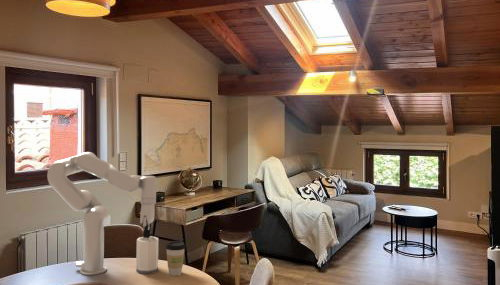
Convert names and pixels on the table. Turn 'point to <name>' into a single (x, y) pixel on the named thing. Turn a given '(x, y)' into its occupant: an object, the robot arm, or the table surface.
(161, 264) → the table surface
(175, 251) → the coffee cup
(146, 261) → the coffee press
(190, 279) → the table surface
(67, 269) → the table surface
